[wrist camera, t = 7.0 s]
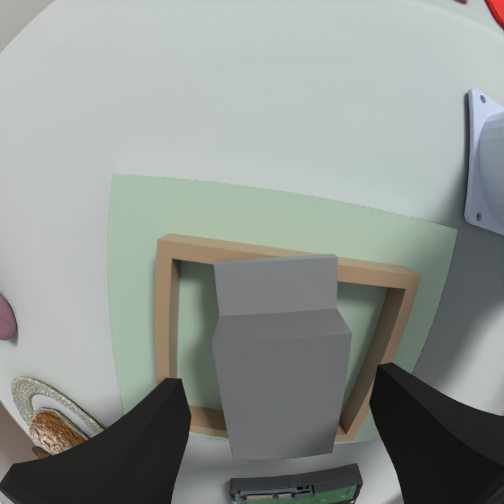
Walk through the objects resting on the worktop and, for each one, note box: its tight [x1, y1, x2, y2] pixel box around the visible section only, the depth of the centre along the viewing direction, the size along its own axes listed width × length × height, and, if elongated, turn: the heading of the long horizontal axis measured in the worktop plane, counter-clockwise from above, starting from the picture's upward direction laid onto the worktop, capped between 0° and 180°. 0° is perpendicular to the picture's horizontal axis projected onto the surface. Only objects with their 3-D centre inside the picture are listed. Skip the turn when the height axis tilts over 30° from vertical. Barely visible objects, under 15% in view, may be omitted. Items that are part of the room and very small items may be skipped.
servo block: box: [212, 254, 352, 460], centre depth 10 cm, size 4×10×4 cm, turn 4°
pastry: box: [11, 377, 105, 459], centre depth 14 cm, size 12×12×5 cm
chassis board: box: [108, 174, 458, 445], centre depth 12 cm, size 16×14×2 cm
